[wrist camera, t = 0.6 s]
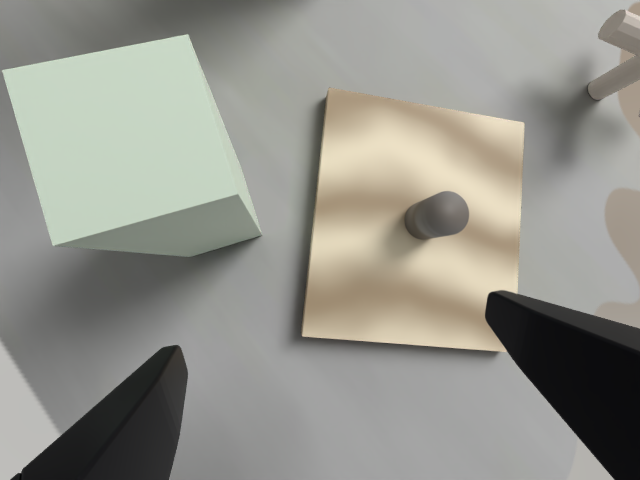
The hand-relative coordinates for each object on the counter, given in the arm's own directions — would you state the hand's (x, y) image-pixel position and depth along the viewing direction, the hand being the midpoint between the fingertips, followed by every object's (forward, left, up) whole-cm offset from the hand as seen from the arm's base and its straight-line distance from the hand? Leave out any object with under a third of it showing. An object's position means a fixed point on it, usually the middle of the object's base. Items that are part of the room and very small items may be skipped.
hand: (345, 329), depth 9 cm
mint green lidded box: (+5, +7, -14) cm, 16 cm away
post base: (+6, -8, -14) cm, 17 cm away
